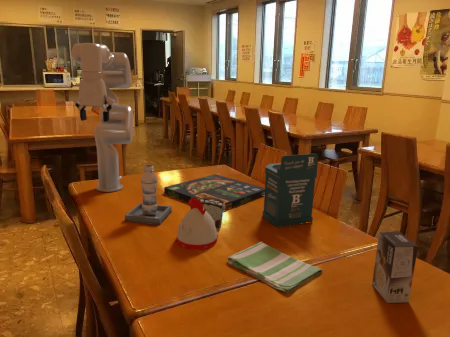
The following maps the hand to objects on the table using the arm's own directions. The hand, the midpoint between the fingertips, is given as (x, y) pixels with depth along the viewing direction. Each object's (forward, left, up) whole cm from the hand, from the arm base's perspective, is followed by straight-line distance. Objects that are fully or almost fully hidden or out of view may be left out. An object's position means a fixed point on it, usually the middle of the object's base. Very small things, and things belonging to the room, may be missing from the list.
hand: (94, 120), depth 149 cm
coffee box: (+40, +107, -36) cm, 120 cm away
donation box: (-8, +77, -37) cm, 86 cm away
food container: (+6, +50, -36) cm, 62 cm away
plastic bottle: (+5, +24, -36) cm, 43 cm away
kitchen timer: (+21, +48, -37) cm, 64 cm away
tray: (+5, +24, -36) cm, 44 cm away
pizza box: (-30, +44, -37) cm, 65 cm away
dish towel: (+34, +75, -37) cm, 90 cm away
